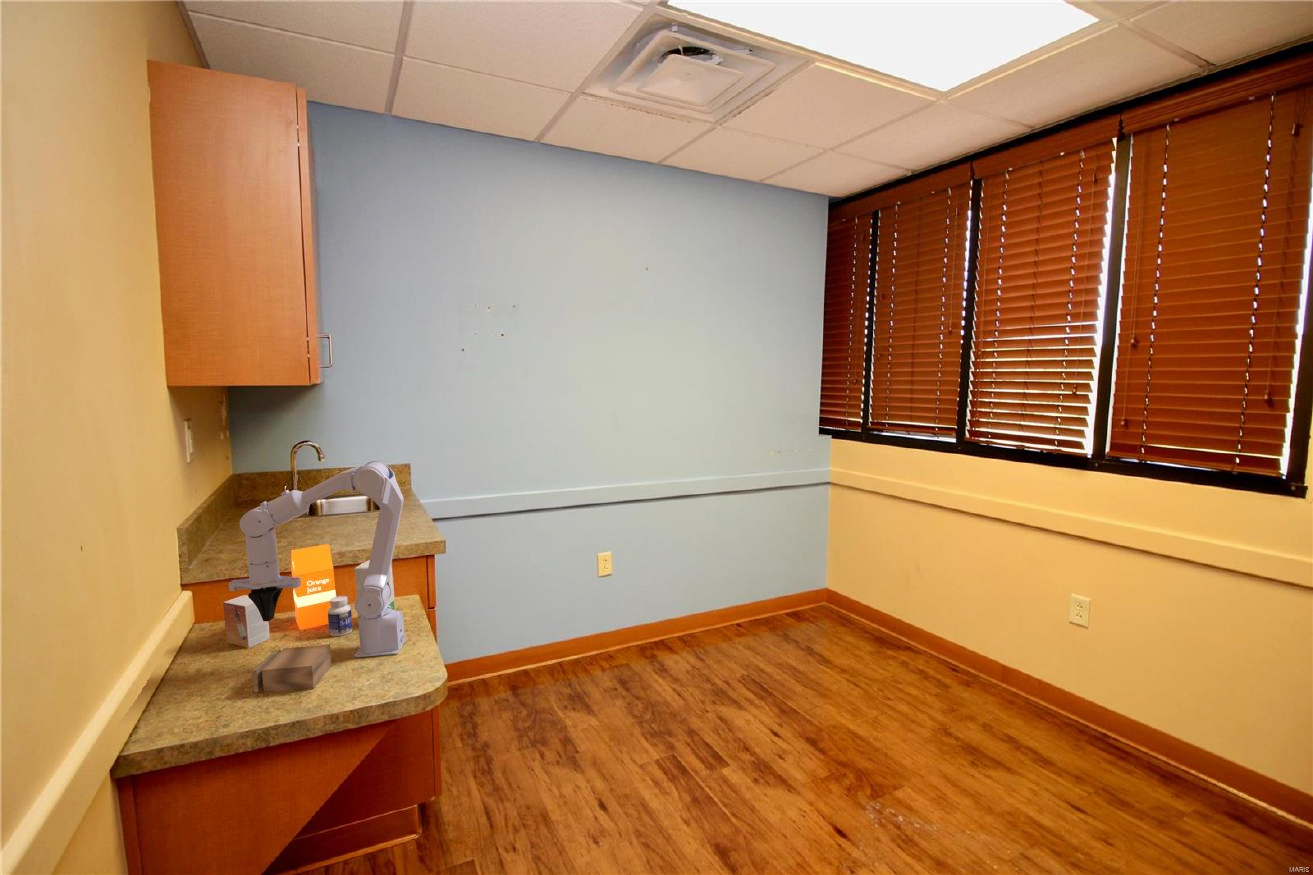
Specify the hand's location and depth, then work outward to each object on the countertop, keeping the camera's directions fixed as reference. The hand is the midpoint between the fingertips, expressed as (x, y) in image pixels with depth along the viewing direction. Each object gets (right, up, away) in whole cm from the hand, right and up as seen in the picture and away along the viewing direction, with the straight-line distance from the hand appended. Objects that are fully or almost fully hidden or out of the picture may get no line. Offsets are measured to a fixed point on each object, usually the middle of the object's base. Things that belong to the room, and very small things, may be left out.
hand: (268, 619), depth 139 cm
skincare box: (+14, -7, +23) cm, 28 cm away
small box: (-13, -9, +12) cm, 20 cm away
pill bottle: (+8, -8, +16) cm, 20 cm away
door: (+5, -10, -8) cm, 14 cm away
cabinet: (+11, -11, -7) cm, 17 cm away
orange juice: (-2, -8, +24) cm, 25 cm away
